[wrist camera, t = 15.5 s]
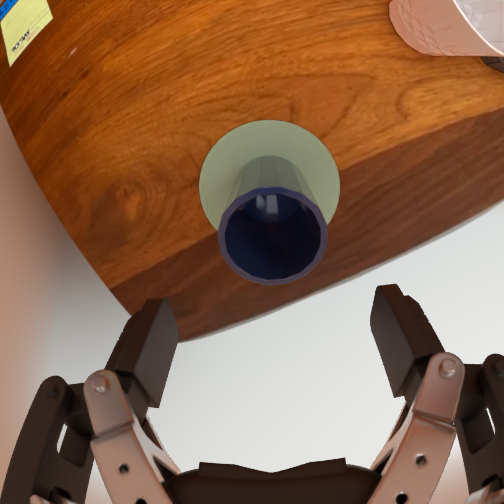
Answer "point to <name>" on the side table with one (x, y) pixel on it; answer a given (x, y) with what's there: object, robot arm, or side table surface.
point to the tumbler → (272, 223)
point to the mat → (267, 144)
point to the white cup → (450, 26)
